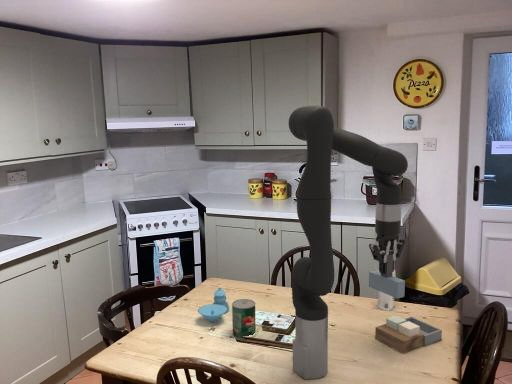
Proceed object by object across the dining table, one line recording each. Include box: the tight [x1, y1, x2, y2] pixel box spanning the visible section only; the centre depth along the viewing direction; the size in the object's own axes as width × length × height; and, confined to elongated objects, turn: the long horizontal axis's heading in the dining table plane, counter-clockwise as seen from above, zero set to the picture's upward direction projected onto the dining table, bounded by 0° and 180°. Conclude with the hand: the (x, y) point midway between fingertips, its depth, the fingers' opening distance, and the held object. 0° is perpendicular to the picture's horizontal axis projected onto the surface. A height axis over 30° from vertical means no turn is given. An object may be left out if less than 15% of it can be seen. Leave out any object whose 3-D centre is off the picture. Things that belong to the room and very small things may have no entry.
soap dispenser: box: [197, 287, 230, 324], centre depth 174 cm, size 18×10×9 cm, turn 167°
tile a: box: [399, 321, 420, 337], centre depth 150 cm, size 4×4×2 cm
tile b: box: [385, 315, 407, 331], centre depth 155 cm, size 4×4×2 cm
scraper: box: [368, 253, 406, 300], centre depth 146 cm, size 3×12×12 cm, turn 31°
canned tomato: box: [231, 298, 257, 340], centre depth 159 cm, size 8×8×11 cm
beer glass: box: [376, 267, 397, 311], centre depth 180 cm, size 7×7×15 cm
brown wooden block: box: [374, 323, 424, 354], centre depth 152 cm, size 9×12×4 cm
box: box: [404, 316, 443, 347], centre depth 157 cm, size 8×13×4 cm, turn 30°
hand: (386, 272), depth 146 cm, fingers closed on scraper, 2 cm apart
